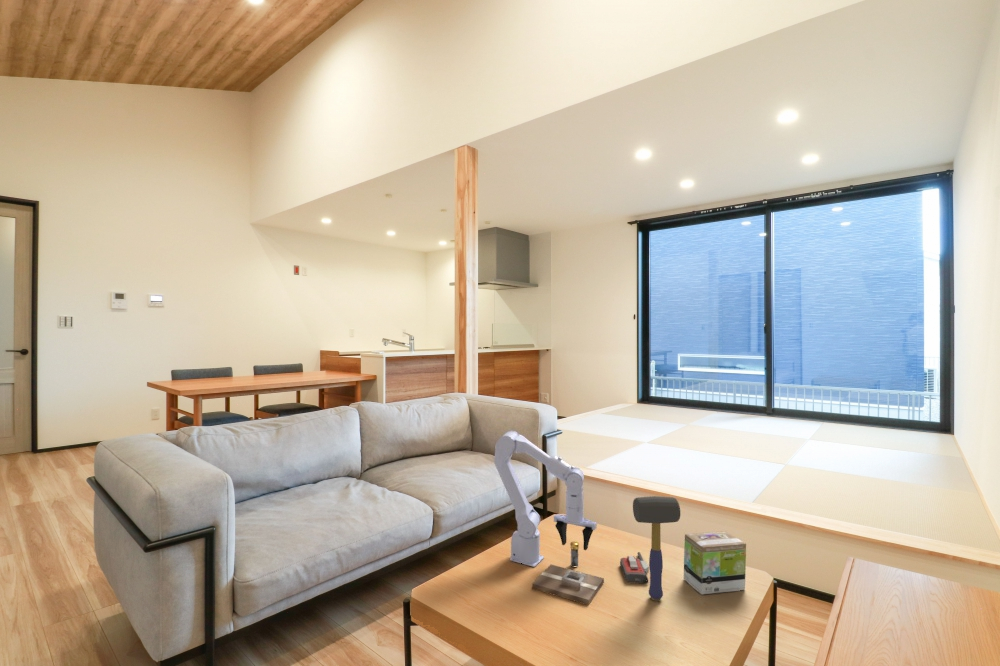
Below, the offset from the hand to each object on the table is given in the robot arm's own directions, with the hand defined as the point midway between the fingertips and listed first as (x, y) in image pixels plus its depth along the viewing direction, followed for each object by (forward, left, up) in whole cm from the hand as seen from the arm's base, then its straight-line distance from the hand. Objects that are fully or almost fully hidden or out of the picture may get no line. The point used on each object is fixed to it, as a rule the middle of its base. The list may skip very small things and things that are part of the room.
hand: (574, 546), depth 163 cm
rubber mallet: (+28, -7, -7) cm, 30 cm away
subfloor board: (+3, -13, -7) cm, 15 cm away
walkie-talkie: (+18, +8, -7) cm, 21 cm away
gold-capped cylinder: (0, 0, -7) cm, 7 cm away
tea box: (+42, +10, -7) cm, 44 cm away
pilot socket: (+5, -13, -5) cm, 15 cm away
